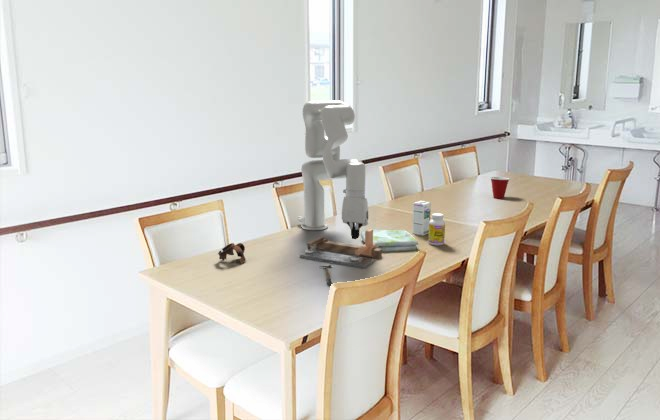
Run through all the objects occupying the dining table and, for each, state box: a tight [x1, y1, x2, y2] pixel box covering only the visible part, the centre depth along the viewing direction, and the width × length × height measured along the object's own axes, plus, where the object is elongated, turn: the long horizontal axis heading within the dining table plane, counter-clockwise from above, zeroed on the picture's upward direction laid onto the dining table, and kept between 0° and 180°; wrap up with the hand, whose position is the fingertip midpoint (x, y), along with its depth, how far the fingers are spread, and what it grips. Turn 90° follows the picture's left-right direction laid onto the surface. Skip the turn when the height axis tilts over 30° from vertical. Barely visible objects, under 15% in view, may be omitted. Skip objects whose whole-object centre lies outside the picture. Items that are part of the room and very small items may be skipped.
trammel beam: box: [306, 236, 383, 259], centre depth 231 cm, size 28×14×5 cm, turn 62°
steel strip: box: [299, 248, 374, 269], centre depth 226 cm, size 28×8×2 cm, turn 62°
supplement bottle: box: [428, 212, 446, 246], centre depth 245 cm, size 7×7×13 cm
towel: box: [360, 228, 419, 252], centre depth 245 cm, size 18×21×5 cm
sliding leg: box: [354, 228, 376, 258], centre depth 226 cm, size 4×14×10 cm, turn 152°
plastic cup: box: [490, 176, 510, 200], centre depth 332 cm, size 11×11×12 cm
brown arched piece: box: [217, 242, 247, 265], centre depth 225 cm, size 12×10×8 cm
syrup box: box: [412, 200, 432, 236], centre depth 260 cm, size 6×6×14 cm
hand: (355, 238), depth 233 cm, fingers closed
